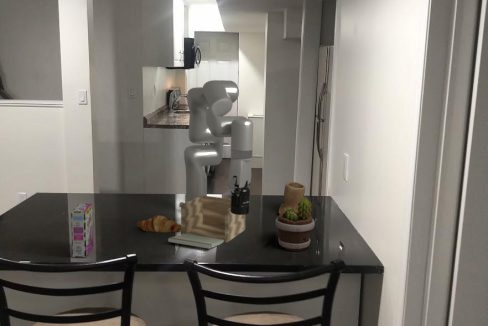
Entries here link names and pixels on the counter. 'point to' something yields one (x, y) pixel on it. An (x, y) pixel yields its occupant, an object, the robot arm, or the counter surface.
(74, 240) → the candy bar box
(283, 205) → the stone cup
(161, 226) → the croissant
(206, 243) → the panel
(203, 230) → the crate
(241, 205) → the supplement bottle
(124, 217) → the counter surface
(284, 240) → the flowerpot
